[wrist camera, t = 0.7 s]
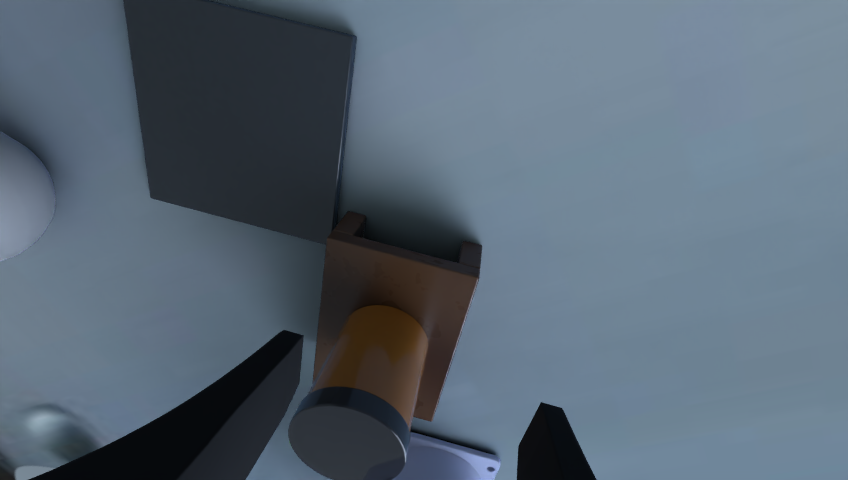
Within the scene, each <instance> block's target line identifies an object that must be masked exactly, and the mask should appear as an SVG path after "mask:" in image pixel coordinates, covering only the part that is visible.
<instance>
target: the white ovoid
mask: <svg viewBox="0 0 848 480" xmlns="http://www.w3.org/2000/svg"><path fill="white" fill-rule="evenodd" d="M54 211H55V190H54V184H53V181H52V178H51V176H50V174H49V172H48V170H47V168H46V167H45V166H44V164H43V163H42V162H41V160H40V159H39V158H38V157H37V156H36V155H35V154H34V153H33V152H32V151H31V150H30V149H28V148H27V147H26V146H24V145H23V144H21V143H19V142H18V141H16V140H15V139H13V138H11V137H9V136H8V135H6V134H4V133H2V132H1V131H0V261H3V260H6V259H9V258H12V257H15V256H17V255H19V254H20V253H22V252H23V251H24V250H26V249H27V248H29V247H30V246H31V245H33V244H34V243H35V242H36V241H37V240H38V239H39V238H40V237H41V236H42V234H43V233H44V232H45V230H46V229H47V227H48V225H49V224H50V222H51V220H52V219H53V216H54Z"/></svg>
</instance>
